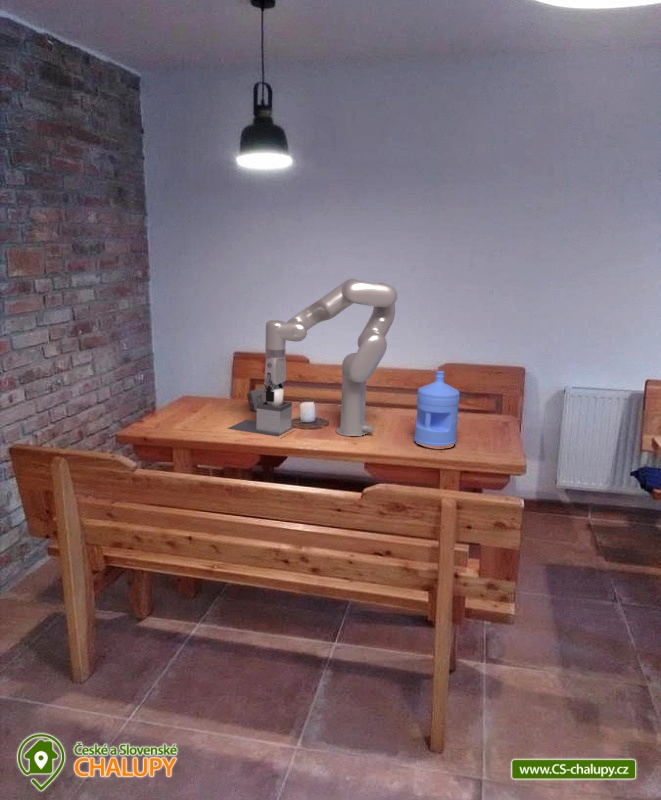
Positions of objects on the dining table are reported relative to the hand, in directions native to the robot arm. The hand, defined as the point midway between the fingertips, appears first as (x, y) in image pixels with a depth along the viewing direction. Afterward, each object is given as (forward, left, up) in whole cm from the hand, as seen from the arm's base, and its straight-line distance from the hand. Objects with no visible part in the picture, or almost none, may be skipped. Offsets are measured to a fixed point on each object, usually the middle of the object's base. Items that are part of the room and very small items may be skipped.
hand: (274, 399), depth 249 cm
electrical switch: (+24, -30, -14) cm, 41 cm away
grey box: (+6, 0, -14) cm, 15 cm away
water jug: (-59, -17, -14) cm, 63 cm away
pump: (0, 0, -3) cm, 3 cm away
